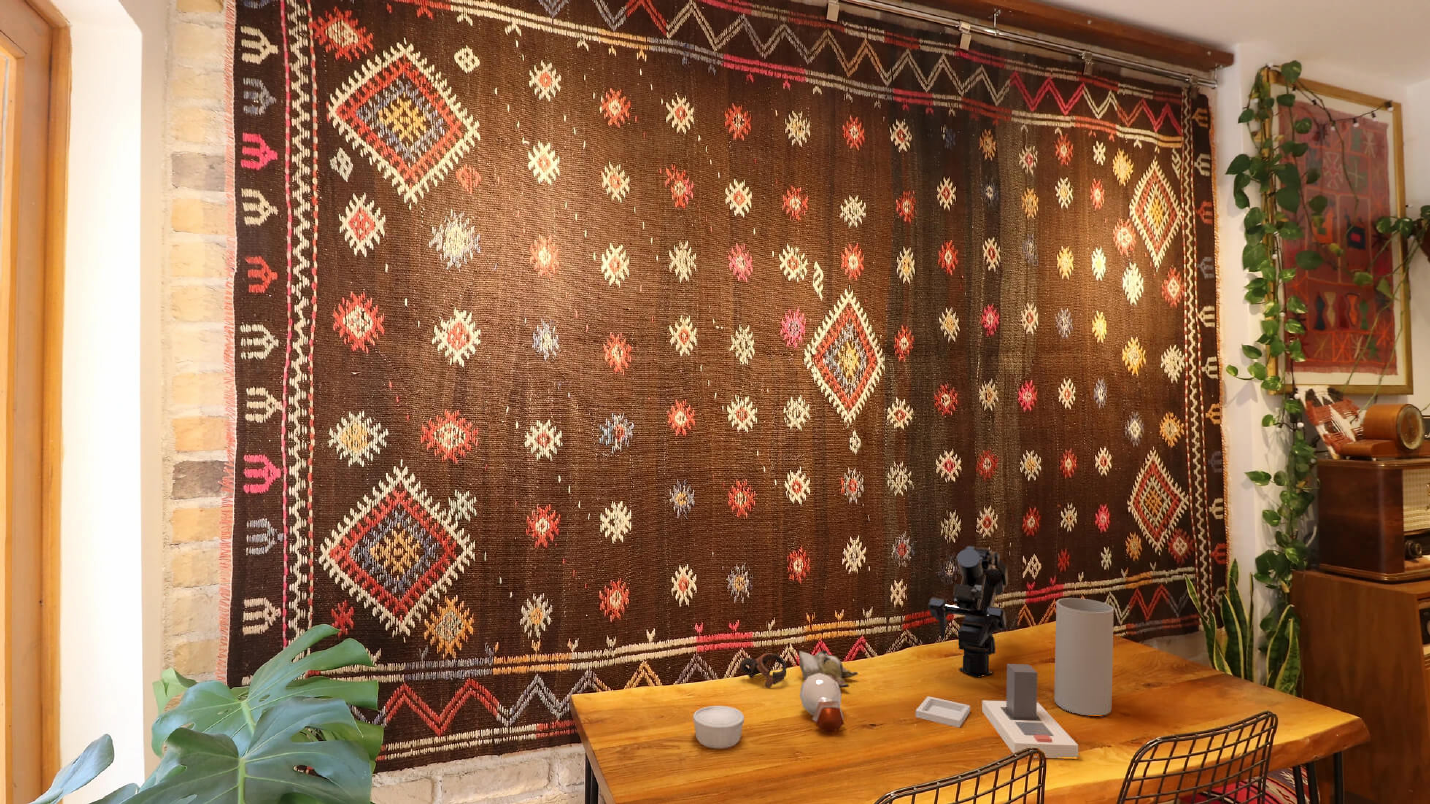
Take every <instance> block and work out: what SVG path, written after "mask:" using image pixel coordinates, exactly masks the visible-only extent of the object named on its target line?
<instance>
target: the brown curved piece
mask: <svg viewBox="0 0 1430 804" xmlns="http://www.w3.org/2000/svg"><path fill="white" fill-rule="evenodd" d="M773 659H774V660H775V661H776V663H778V664H780V665H782V670H780V671H772V670H773V669H772V668H771V667H770V666H767V665H766V664H767V662H768V661H772V660H773ZM748 666H749V667H748ZM740 668H741V671H743V673H744V674H745V675H747V676H748V678H749V679H750V680H751V679H753V678H754V677H755V676H756V675H759V674H761V675H762V676H763V677H764V678H765V681H764V683H763V686H764V687H765V688H767V689H770V688H771V687H773V685H777V684H779V683H781V682H782V681H784V680H785V677H786V676H787V663H786V661H785V660H784V659H783V658H782V657H781V656H780V655H779V654H777V653H772V652H767V653H766V652H765V653H763V654H762V655H760V656H758V657H757V658H755V659H753V658H751V657H746V658H744V659H742V660H741V662H740ZM771 671H772V675H771Z"/></svg>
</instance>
